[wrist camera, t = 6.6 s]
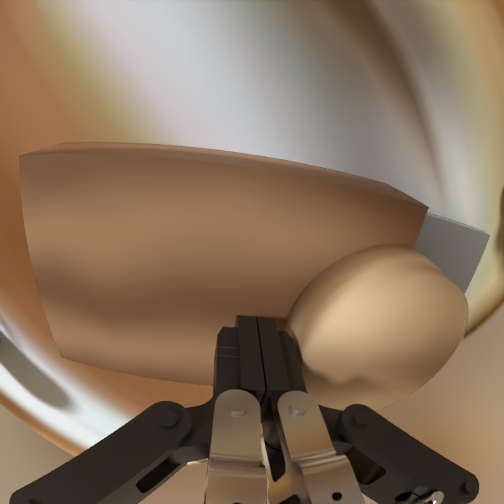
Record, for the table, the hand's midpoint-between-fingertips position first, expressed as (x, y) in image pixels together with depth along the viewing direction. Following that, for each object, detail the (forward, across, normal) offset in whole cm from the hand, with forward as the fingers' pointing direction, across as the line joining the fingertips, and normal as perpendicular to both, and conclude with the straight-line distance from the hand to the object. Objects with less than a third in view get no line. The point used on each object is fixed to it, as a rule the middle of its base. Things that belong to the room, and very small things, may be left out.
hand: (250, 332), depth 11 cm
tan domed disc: (+1, -6, 0) cm, 6 cm away
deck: (+5, +2, 0) cm, 6 cm away
